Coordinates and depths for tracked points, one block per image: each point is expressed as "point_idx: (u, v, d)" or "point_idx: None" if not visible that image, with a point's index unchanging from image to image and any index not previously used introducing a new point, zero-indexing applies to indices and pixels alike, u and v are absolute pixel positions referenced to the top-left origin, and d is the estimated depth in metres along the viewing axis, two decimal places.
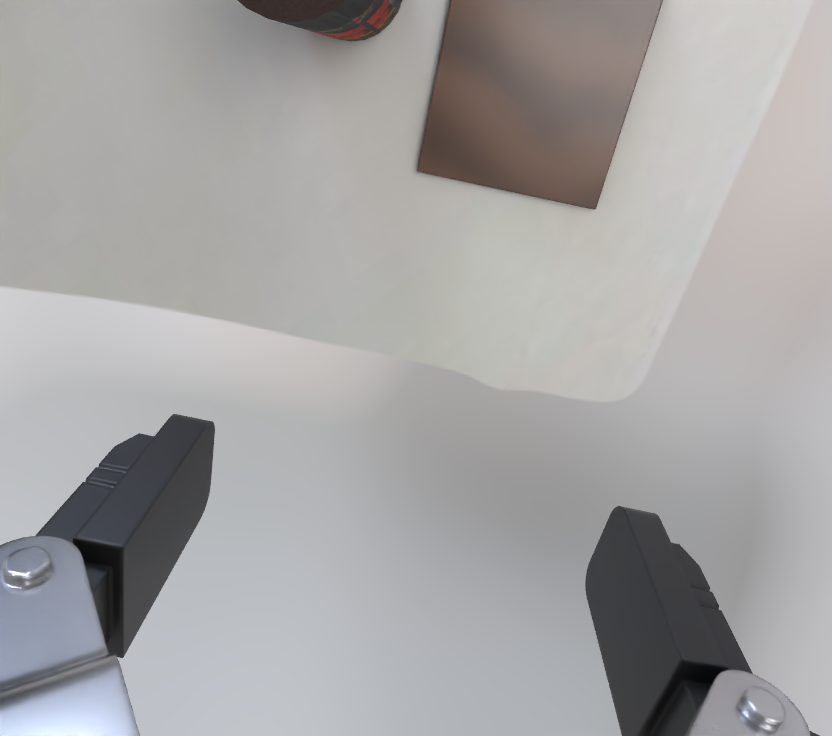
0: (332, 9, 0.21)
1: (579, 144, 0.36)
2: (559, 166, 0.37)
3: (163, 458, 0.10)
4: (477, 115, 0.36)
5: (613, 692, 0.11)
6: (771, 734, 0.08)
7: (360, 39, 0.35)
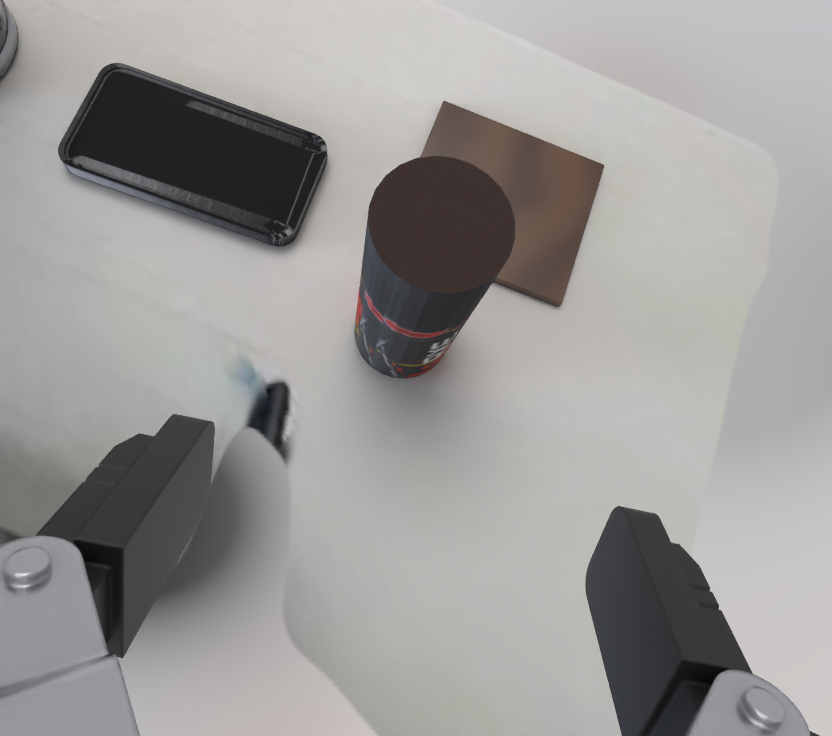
0: (509, 204, 0.25)
1: (551, 171, 0.43)
2: (567, 188, 0.43)
3: (163, 458, 0.10)
4: (520, 246, 0.41)
5: (613, 692, 0.11)
6: (771, 734, 0.08)
7: None
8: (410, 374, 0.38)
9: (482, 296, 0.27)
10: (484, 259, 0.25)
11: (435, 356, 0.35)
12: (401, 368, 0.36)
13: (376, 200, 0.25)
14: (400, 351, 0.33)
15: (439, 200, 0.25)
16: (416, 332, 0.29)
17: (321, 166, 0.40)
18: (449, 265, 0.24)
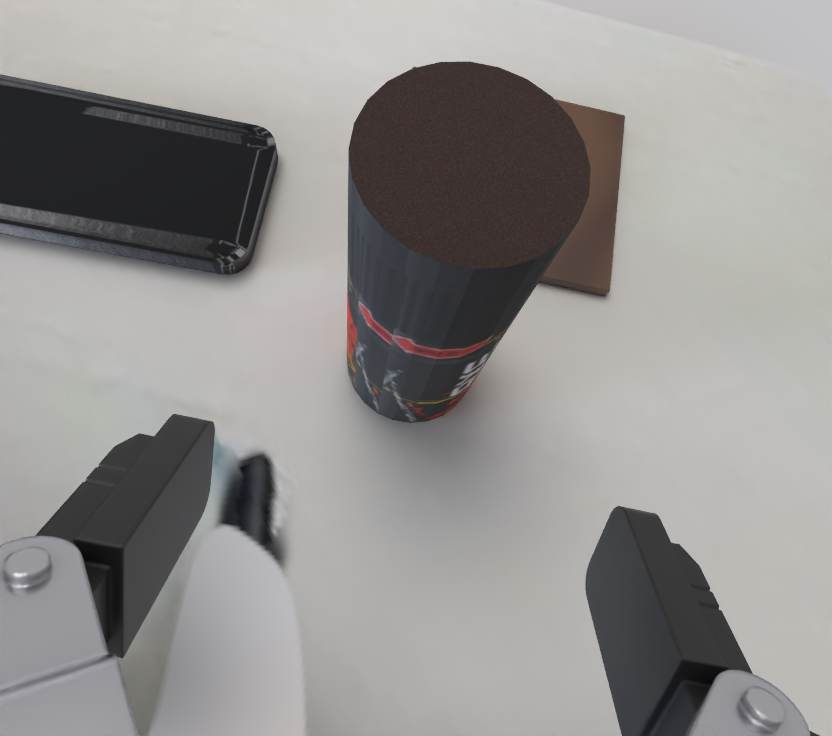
0: (569, 118, 0.16)
1: None
2: (586, 149, 0.34)
3: (163, 458, 0.10)
4: None
5: (614, 692, 0.11)
6: (771, 734, 0.08)
7: None
8: (432, 414, 0.28)
9: (542, 275, 0.18)
10: (549, 206, 0.15)
11: (466, 384, 0.25)
12: (421, 408, 0.26)
13: (359, 138, 0.15)
14: (419, 383, 0.23)
15: (459, 126, 0.15)
16: (445, 350, 0.19)
17: (271, 164, 0.31)
18: (497, 222, 0.15)
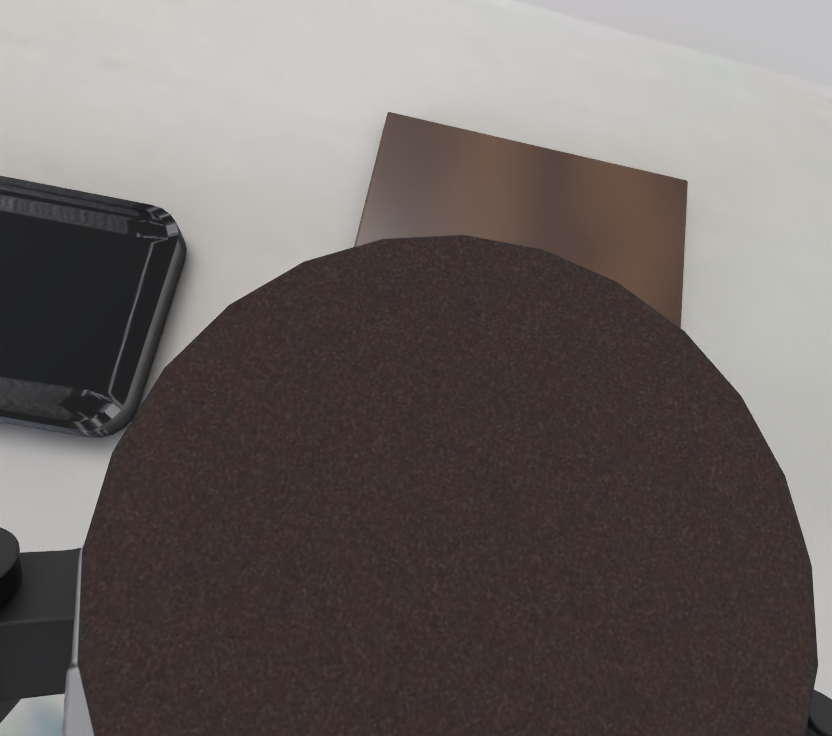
0: (737, 398, 0.06)
1: (600, 206, 0.24)
2: (635, 232, 0.23)
3: None
4: None
5: None
6: None
7: None
8: None
9: None
10: (707, 722, 0.05)
11: None
12: None
13: (118, 512, 0.05)
14: None
15: (432, 447, 0.05)
16: None
17: (171, 265, 0.20)
18: None
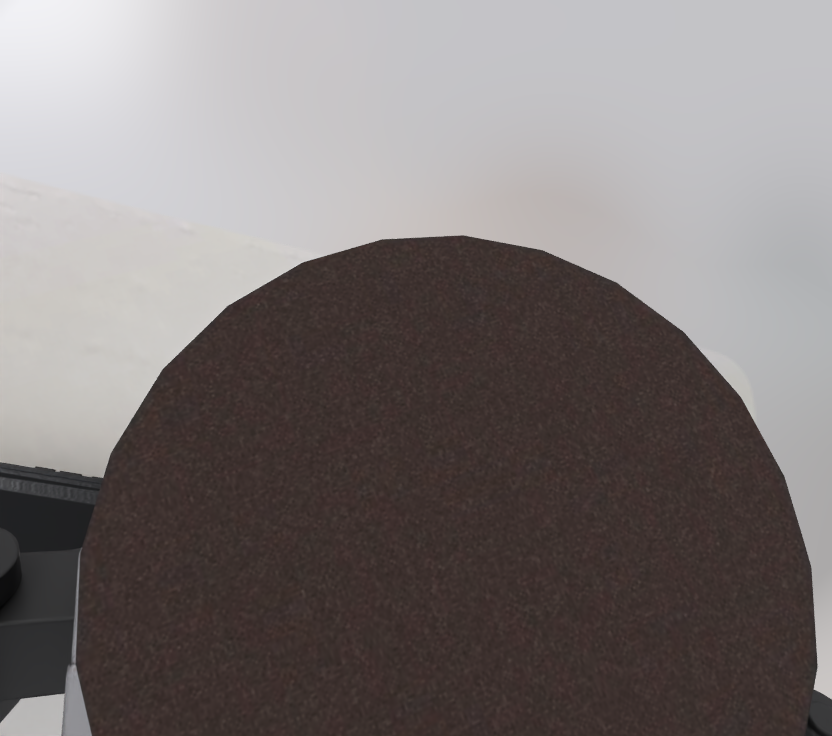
0: (736, 399, 0.06)
1: None
2: None
3: None
4: None
5: None
6: None
7: None
8: None
9: None
10: (706, 723, 0.05)
11: None
12: None
13: (117, 513, 0.05)
14: None
15: (430, 448, 0.05)
16: None
17: None
18: None
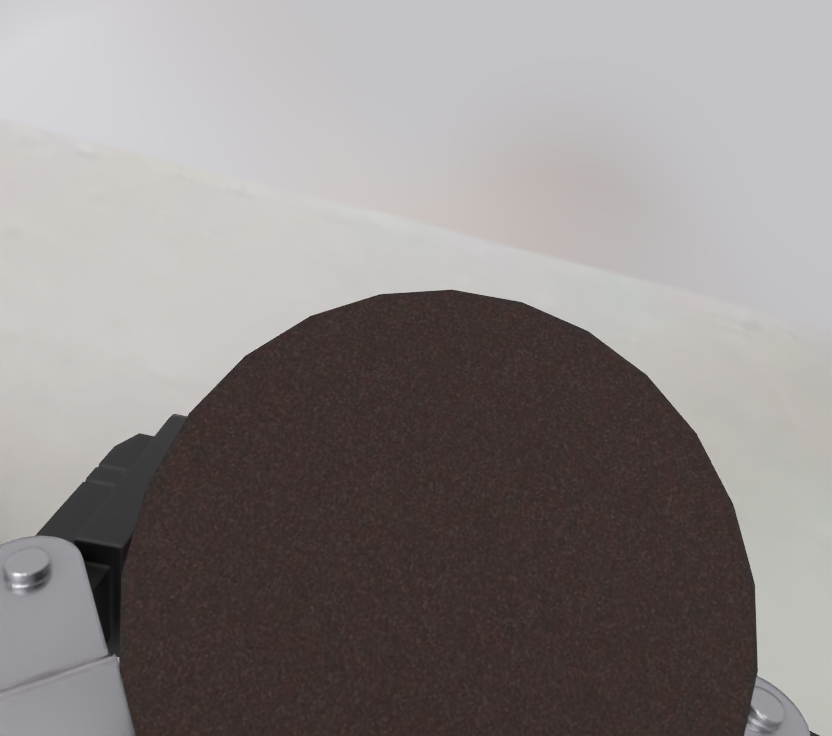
0: (692, 435, 0.07)
1: None
2: None
3: None
4: None
5: None
6: (771, 734, 0.08)
7: None
8: None
9: None
10: (659, 720, 0.06)
11: None
12: None
13: (152, 540, 0.06)
14: None
15: (423, 481, 0.06)
16: None
17: None
18: None
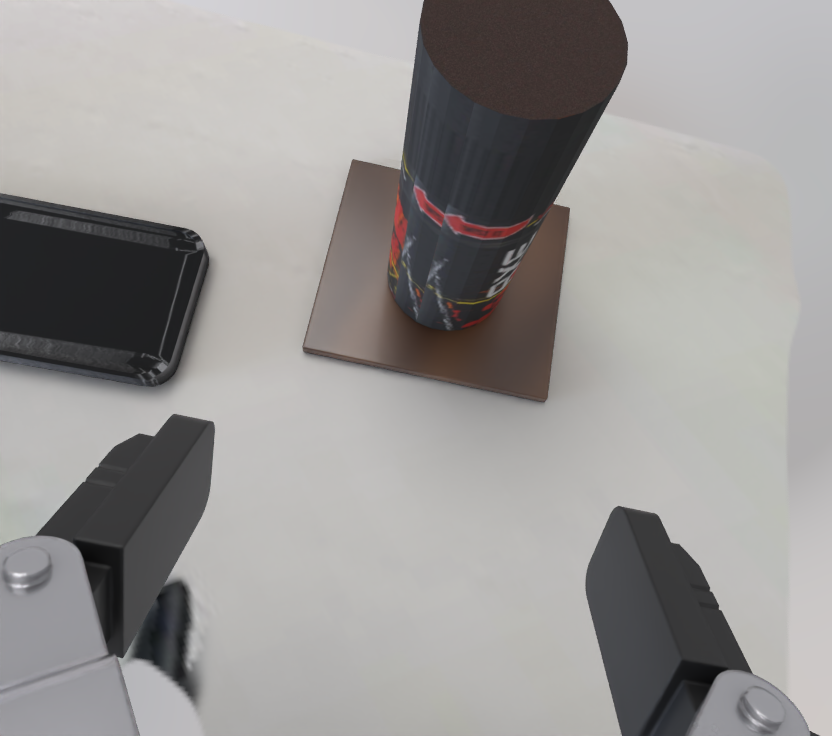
0: (608, 2, 0.18)
1: None
2: None
3: (163, 458, 0.10)
4: (481, 330, 0.31)
5: (613, 692, 0.11)
6: (771, 734, 0.08)
7: None
8: (468, 321, 0.30)
9: (581, 150, 0.20)
10: (593, 72, 0.17)
11: (502, 284, 0.27)
12: (458, 311, 0.28)
13: (428, 13, 0.17)
14: (462, 274, 0.25)
15: (514, 6, 0.18)
16: (491, 228, 0.22)
17: (199, 269, 0.30)
18: (548, 83, 0.17)
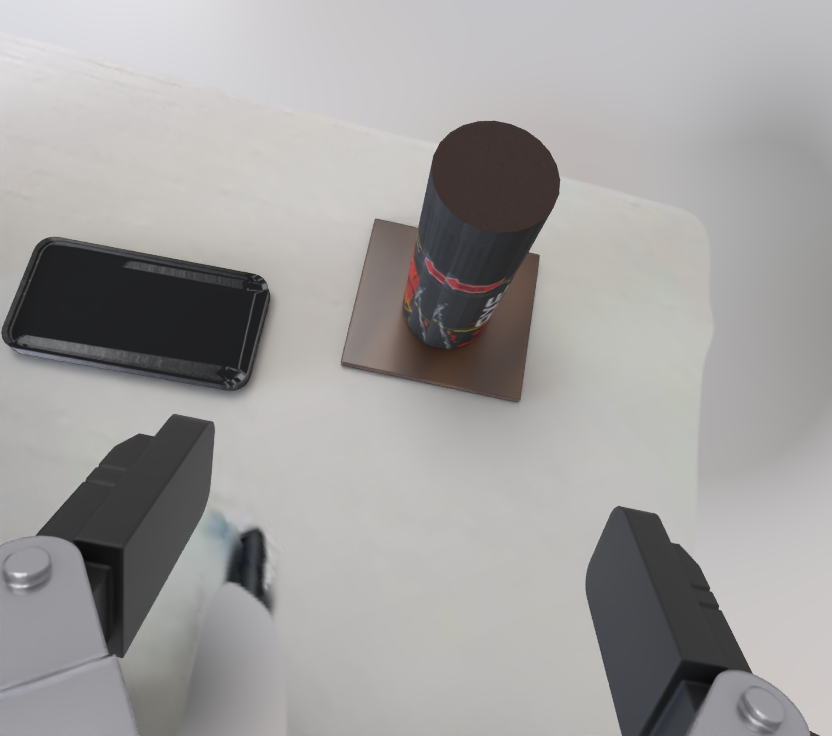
0: (549, 152, 0.29)
1: None
2: None
3: (163, 458, 0.10)
4: (471, 349, 0.42)
5: (613, 692, 0.11)
6: (771, 734, 0.08)
7: None
8: (462, 343, 0.41)
9: (534, 240, 0.31)
10: (537, 200, 0.28)
11: (486, 318, 0.38)
12: (455, 336, 0.39)
13: (436, 164, 0.28)
14: (457, 313, 0.36)
15: (489, 157, 0.29)
16: (476, 286, 0.33)
17: (265, 304, 0.41)
18: (509, 208, 0.28)
